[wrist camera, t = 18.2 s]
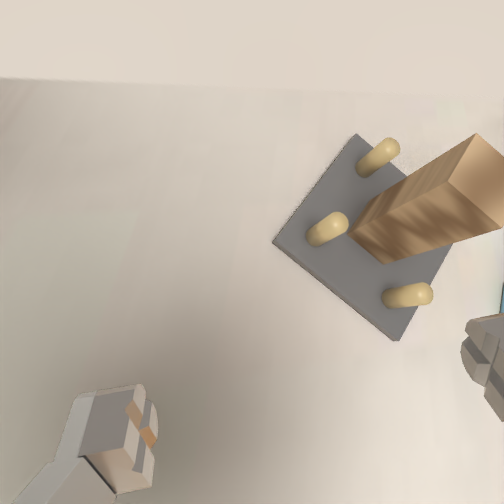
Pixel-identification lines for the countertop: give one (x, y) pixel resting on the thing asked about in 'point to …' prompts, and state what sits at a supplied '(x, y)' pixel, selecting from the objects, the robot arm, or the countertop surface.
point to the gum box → (502, 303)
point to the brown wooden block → (436, 204)
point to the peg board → (351, 253)
